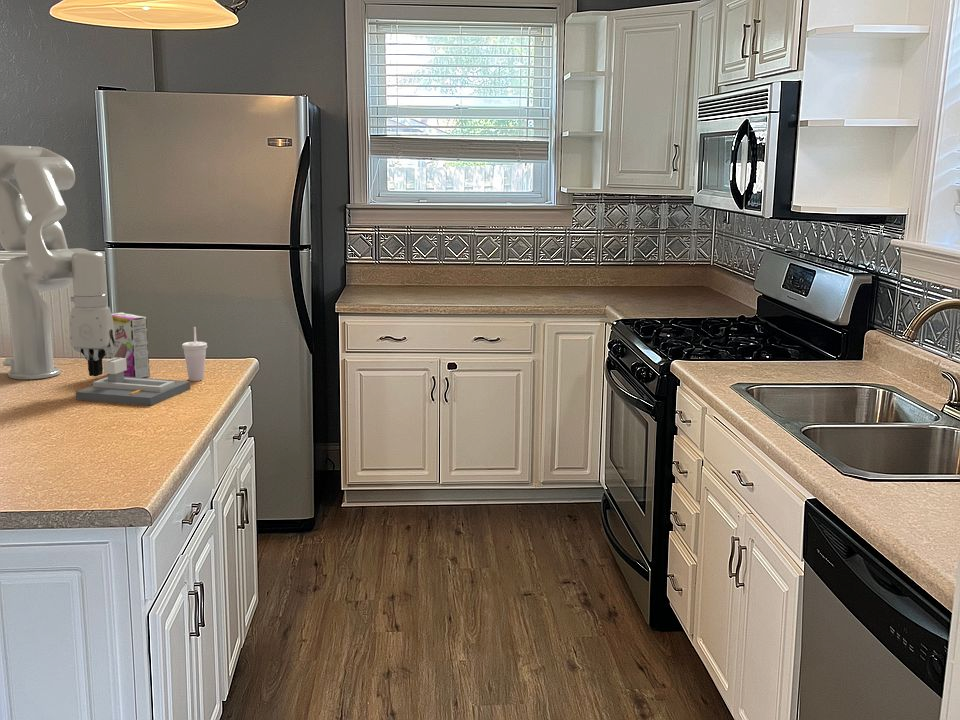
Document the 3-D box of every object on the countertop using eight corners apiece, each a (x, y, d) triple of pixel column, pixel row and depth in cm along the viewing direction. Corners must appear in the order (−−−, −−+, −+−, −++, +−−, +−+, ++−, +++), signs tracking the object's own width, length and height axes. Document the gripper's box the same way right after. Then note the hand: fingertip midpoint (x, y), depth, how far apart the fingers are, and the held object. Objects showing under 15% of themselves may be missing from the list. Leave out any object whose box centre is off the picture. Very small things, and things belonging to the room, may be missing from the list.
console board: (76, 399, 230) (75, 387, 229) (120, 383, 247) (119, 371, 247) (150, 406, 226) (150, 392, 225) (190, 389, 243) (189, 376, 242)
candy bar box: (109, 374, 258) (105, 314, 254) (125, 371, 262) (122, 311, 258) (134, 380, 251) (131, 318, 248) (150, 377, 255) (147, 316, 252)
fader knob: (104, 385, 235) (103, 360, 234) (116, 380, 240) (115, 356, 238) (115, 386, 234) (114, 361, 233) (127, 381, 239) (126, 357, 238)
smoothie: (212, 377, 256) (210, 325, 253) (203, 382, 250) (201, 330, 247) (189, 376, 257) (186, 325, 254) (179, 381, 250) (177, 329, 248)
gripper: (54, 302, 232) (59, 376, 236) (108, 305, 229) (113, 380, 233) (73, 298, 239) (79, 370, 243) (127, 301, 236) (131, 373, 240)
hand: (95, 374), depth 238 cm, fingers closed
